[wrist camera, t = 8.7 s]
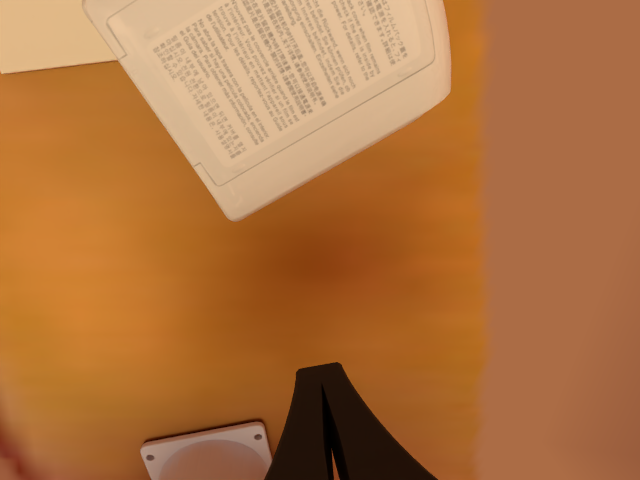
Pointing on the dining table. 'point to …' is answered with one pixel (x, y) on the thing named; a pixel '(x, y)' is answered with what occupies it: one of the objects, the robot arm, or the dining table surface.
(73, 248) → the dining table surface
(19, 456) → the dining table surface
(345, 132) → the photo printer
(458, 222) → the dining table surface
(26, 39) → the mat
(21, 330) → the dining table surface
